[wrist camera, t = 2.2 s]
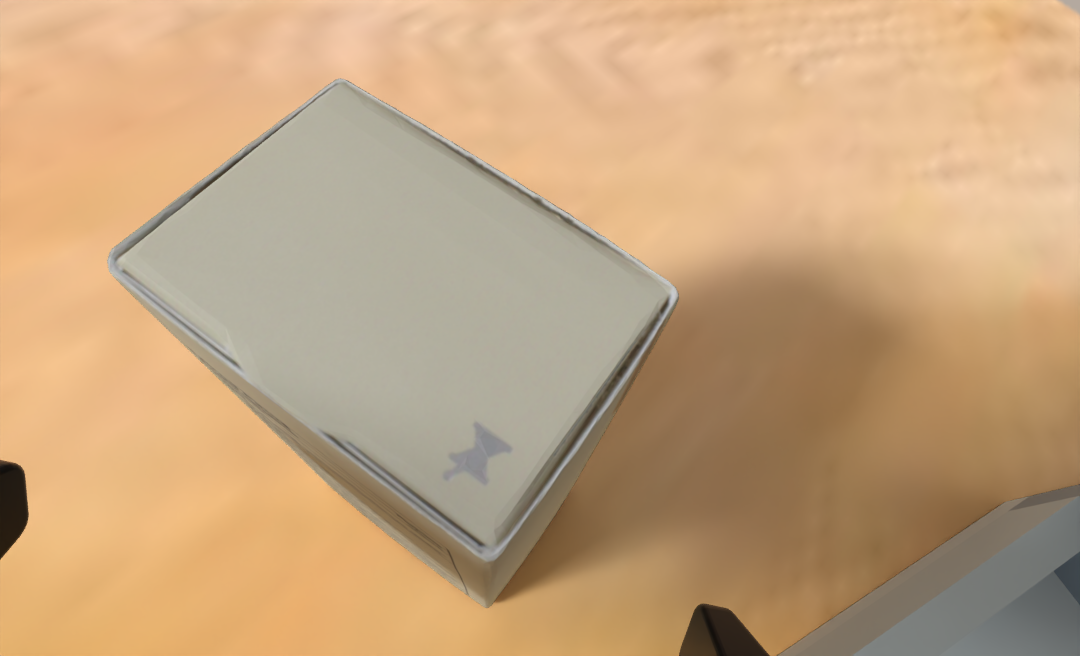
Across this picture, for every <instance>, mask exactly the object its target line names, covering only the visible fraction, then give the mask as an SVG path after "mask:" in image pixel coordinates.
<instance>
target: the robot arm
mask: <svg viewBox="0 0 1080 656" xmlns="http://www.w3.org/2000/svg"><path fill="white" fill-rule="evenodd" d="M28 515H29V513H28V502H27V491H26V480H25V473H24V470H23V469H22V467H21V466H20V465H18V464H16V463H12V462H7V461H3V460H0V559H1V558H2V557H3V556H4V555H5V553H6V552H7V551H8V550H9V549H10V548H11V546H12V545H13V544H14V543H15V542H16V540H17V539H18V538H19V537H20V535H21V534H22V532H23V531H24V529H25V527H26V524H27V521H28ZM679 656H769V654H768V653H767V652H766V651H765V650H764V649H763V647H762V646H761V645H760V644H759V643H758V641H757V640H756V639H755V638H754V637H753V636H752V634H751V633H750V632H749V631H748V630H747V629H746V627H745V626H744V625H743V624H742V623H741V621H740V620H739V619H738V618H737V617H736V616H735V614H734V613H733V612H732V611H730V610H729V609H727V608H723V607H718V606H713V605H709V604H700V605H698V606H697V607H696V609H695V610H694V613H693V615H692V618H691V621H690V624H689V627H688V629H687V632H686V635H685V638H684V640H683V643H682V646H681V649H680V653H679Z"/></svg>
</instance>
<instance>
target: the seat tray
mask: <svg viewBox="0 0 1080 656" xmlns="http://www.w3.org/2000/svg"><path fill="white" fill-rule="evenodd" d="M777 656H1080V484H1079V485H1075V486H1071V487H1067V488H1062V489H1058V490H1054V491H1050V492H1045V493H1041V494H1037V495H1033V496H1028V497H1024V498H1020V499H1016V500H1011V501H1007V502H1004V503H1003V504H1001V505H1000V506H998V507H997V508H995V509H994V510H992V511H991V512H989V513H988V514H987V515H985V516H984V517H982V518H981V519H979V520H978V521H976V522H975V523H973V524H972V525H970V526H969V527H967V528H966V529H964V530H963V531H961V532H960V533H958V534H957V535H955V536H954V537H952V538H951V539H949V540H948V541H946V542H945V543H944V544H942V545H941V546H939V547H938V548H936V549H935V550H933V551H932V552H930V553H929V554H927V555H926V556H924V557H923V558H921V559H920V560H918V561H917V562H915V563H914V564H912V565H911V566H909V567H908V568H906V569H905V570H903V571H902V572H900V573H899V574H898V575H896V576H895V577H893V578H892V579H890V580H889V581H887V582H886V583H884V584H883V585H881V586H880V587H878V588H877V589H875V590H874V591H872V592H871V593H869V594H868V595H866V596H865V597H863V598H862V599H860V600H859V601H857V602H856V603H855V604H853V605H852V606H850V607H849V608H847V609H846V610H844V611H843V612H841V613H840V614H838V615H837V616H835V617H834V618H832V619H831V620H829V621H828V622H826V623H825V624H823V625H822V626H820V627H819V628H817V629H816V630H814V631H813V632H811V633H810V634H809V635H807V636H806V637H804V638H803V639H801V640H800V641H798V642H797V643H795V644H794V645H792V646H791V647H789V648H788V649H786V650H785V651H783V652H782V653H780V654H779V655H777Z"/></svg>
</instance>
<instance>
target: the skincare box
mask: <svg viewBox="0 0 1080 656" xmlns="http://www.w3.org/2000/svg"><path fill="white" fill-rule="evenodd" d="M107 262H108V268H109V272H110V273H111V274H112V275H113V277H114V278H115V279H116V280H117V281H118V282H119V283H120V284H121V285H122V286H123V287H124V288H125V289H126V290H127V291H128V292H129V293H130V294H131V295H132V296H133V297H134V298H135V299H136V300H138V301H139V302H140V303H141V304H142V305H143V306H144V307H145V308H146V309H147V310H148V311H149V312H150V313H151V314H152V315H153V316H154V317H155V318H156V319H157V320H158V321H159V322H160V323H161V324H162V325H163V326H164V327H165V328H166V329H167V330H168V331H170V332H171V333H172V334H173V335H174V336H175V337H176V338H177V339H178V340H179V341H180V342H181V343H182V344H183V345H184V346H185V347H186V348H187V349H188V350H189V351H190V352H191V353H192V354H193V355H194V356H195V357H197V358H198V359H199V360H200V361H201V362H202V363H203V364H204V365H205V366H206V367H207V368H208V369H209V370H210V371H211V372H212V373H213V374H214V375H215V376H216V377H217V378H218V379H219V380H220V381H221V382H222V383H224V384H225V385H226V386H227V387H228V388H229V389H230V390H231V391H232V392H233V393H234V394H235V395H236V396H237V397H238V398H239V399H240V400H241V401H242V402H243V403H244V404H245V405H246V406H247V407H248V408H249V409H250V410H252V411H253V412H254V413H255V414H256V415H257V416H258V417H259V418H260V419H261V420H262V421H263V422H264V423H265V424H266V425H267V426H268V427H269V428H270V429H271V430H272V431H273V432H274V433H275V434H276V435H277V436H278V437H279V438H281V439H282V440H283V441H284V442H285V443H286V444H287V445H288V446H289V447H290V448H291V449H292V450H293V451H294V452H295V453H296V454H297V455H298V456H299V457H300V458H301V459H302V460H303V461H304V462H305V463H306V464H307V465H308V466H309V467H310V468H311V469H312V470H313V471H314V472H315V473H316V474H318V475H319V476H320V477H321V478H322V479H323V480H324V481H325V482H326V483H327V484H328V485H329V486H330V487H331V488H332V489H334V490H335V491H336V492H337V493H338V494H340V495H341V496H342V497H343V498H344V499H345V500H347V501H348V502H349V503H350V504H351V505H352V506H354V507H355V508H356V509H357V510H358V511H360V512H361V513H362V514H363V515H364V516H366V517H367V518H368V519H369V520H371V521H372V522H373V523H374V524H376V525H377V526H378V527H379V528H380V529H382V530H383V531H384V532H385V533H387V534H388V535H389V536H390V537H392V538H393V539H394V540H395V541H397V542H398V543H399V544H400V545H402V546H403V547H404V548H406V549H407V550H408V551H409V552H411V553H412V554H413V555H415V556H416V557H417V558H418V559H420V560H421V561H422V562H424V563H425V564H426V565H428V566H429V567H430V568H432V569H433V570H434V571H435V572H437V573H438V574H439V575H441V576H442V577H443V578H445V579H446V580H447V581H449V582H450V583H451V584H453V585H454V586H455V587H457V588H458V589H460V590H461V591H462V592H464V593H465V594H466V595H468V596H469V597H471V598H472V599H473V600H475V601H476V602H478V603H479V604H480V605H482V606H483V607H485V608H489V607H490V606H491V605H492V604H493V602H494V601H495V600H496V598H497V597H498V596H499V594H500V593H501V592H502V590H503V589H504V588H505V586H506V585H507V584H508V582H509V581H510V580H511V578H512V577H513V575H514V574H515V573H516V571H517V570H518V569H519V567H520V566H521V564H522V563H523V562H524V560H525V559H526V557H527V556H528V555H529V553H530V552H531V550H532V549H533V547H534V546H535V544H536V543H537V542H538V540H539V539H540V537H541V536H542V534H543V533H544V531H545V530H546V528H547V527H548V525H549V524H550V522H551V521H552V519H553V518H554V516H555V515H556V513H557V512H558V510H559V509H560V507H561V505H562V504H563V502H564V500H565V499H566V497H567V495H568V494H569V492H570V490H571V489H572V487H573V485H574V484H575V482H576V480H577V479H578V477H579V475H580V473H581V472H582V470H583V468H584V467H585V465H586V463H587V461H588V460H589V458H590V456H591V454H592V453H593V451H594V449H595V448H596V446H597V444H598V442H599V441H600V439H601V437H602V436H603V434H604V432H605V431H606V429H607V427H608V425H609V424H610V422H611V420H612V419H613V417H614V415H615V413H616V412H617V410H618V408H619V406H620V405H621V403H622V401H623V400H624V398H625V396H626V394H627V393H628V391H629V389H630V387H631V385H632V384H633V382H634V380H635V378H636V377H637V375H638V373H639V371H640V370H641V368H642V366H643V364H644V362H645V361H646V359H647V357H648V355H649V354H650V352H651V350H652V348H653V347H654V345H655V343H656V341H657V339H658V338H659V336H660V334H661V332H662V330H663V329H664V327H665V325H666V323H667V321H668V320H669V318H670V316H671V314H672V312H673V310H674V309H675V307H676V304H677V302H678V299H679V294H678V292H677V289H676V287H674V286H673V285H672V284H671V283H670V282H669V281H668V280H666V279H664V278H663V277H661V276H660V275H658V274H657V273H655V272H654V271H652V270H651V269H650V268H648V267H647V266H646V265H644V264H643V263H642V262H641V261H639V260H638V259H636V258H635V257H633V256H631V255H630V254H628V253H627V252H625V251H624V250H622V249H621V248H619V247H618V246H617V245H615V244H614V243H612V242H611V241H610V240H608V239H607V238H605V237H604V236H602V235H600V234H598V233H597V232H596V231H594V230H593V229H591V228H590V227H588V226H587V225H585V224H584V223H582V222H580V221H579V220H577V219H575V218H574V217H573V216H572V215H571V214H569V213H567V212H565V211H564V210H562V209H560V208H558V207H557V206H555V205H554V204H552V203H551V202H549V201H548V200H546V199H544V198H543V197H541V196H540V195H538V194H536V193H534V192H533V191H531V190H529V189H528V188H526V187H525V186H523V185H522V184H520V183H519V182H517V181H516V180H514V179H512V178H510V177H509V176H507V175H506V174H504V173H502V172H501V171H499V170H497V169H496V168H494V167H492V166H491V165H489V164H487V163H486V162H484V161H483V160H481V159H479V158H478V157H476V156H474V155H473V154H471V153H469V152H468V151H466V150H464V149H463V148H461V147H460V146H458V145H456V144H455V143H453V142H451V141H450V140H448V139H446V138H444V137H443V136H441V135H440V134H438V133H436V132H435V131H433V130H431V129H430V128H428V127H426V126H425V125H423V124H421V123H420V122H418V121H416V120H414V119H412V118H411V117H409V116H407V115H405V114H403V113H402V112H400V111H399V110H397V109H396V108H394V107H392V106H390V105H388V104H387V103H385V102H383V101H381V100H379V99H377V98H376V97H374V96H372V95H371V94H369V93H367V92H366V91H364V90H362V89H361V88H359V87H357V86H356V85H354V84H352V83H351V82H349V81H347V80H344V79H337V80H334V81H333V82H332V83H330V84H329V85H327V86H326V87H324V88H323V89H322V90H321V91H319V92H318V93H317V94H316V95H314V96H313V97H312V98H311V99H309V100H308V101H307V102H306V103H304V104H303V105H302V106H300V107H299V108H298V109H296V110H295V111H293V112H292V113H290V114H289V115H288V116H286V117H285V118H283V119H282V120H280V121H279V122H278V123H277V124H275V125H274V126H273V127H272V128H270V129H269V130H268V131H266V132H265V133H263V134H262V135H261V136H260V137H258V138H257V139H256V140H254V141H253V142H251V143H250V144H248V145H247V146H245V147H244V148H243V149H241V150H240V151H239V152H238V153H236V154H235V155H234V156H233V157H231V158H230V159H229V160H227V161H226V162H225V163H224V164H222V165H221V166H220V167H219V168H217V169H216V170H215V171H214V172H212V173H211V174H209V175H208V176H207V177H205V178H204V179H202V180H201V181H200V182H198V183H197V184H196V185H194V186H193V187H192V188H191V189H189V190H188V191H187V192H185V193H184V194H182V195H181V196H180V197H178V198H177V199H176V200H175V201H173V202H172V203H171V204H170V205H168V206H167V207H166V208H165V209H163V210H162V211H161V212H159V213H158V214H157V215H156V216H154V217H153V218H152V219H150V220H149V221H148V222H146V223H145V224H144V225H143V226H141V227H140V228H139V229H137V230H136V231H135V232H133V233H132V234H131V235H129V236H128V237H127V238H126V239H124V240H123V241H122V242H120V243H119V244H118V245H116V246H115V247H114V248H113V249H112V250H111V252H110V254H109V257H108V260H107Z"/></svg>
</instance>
